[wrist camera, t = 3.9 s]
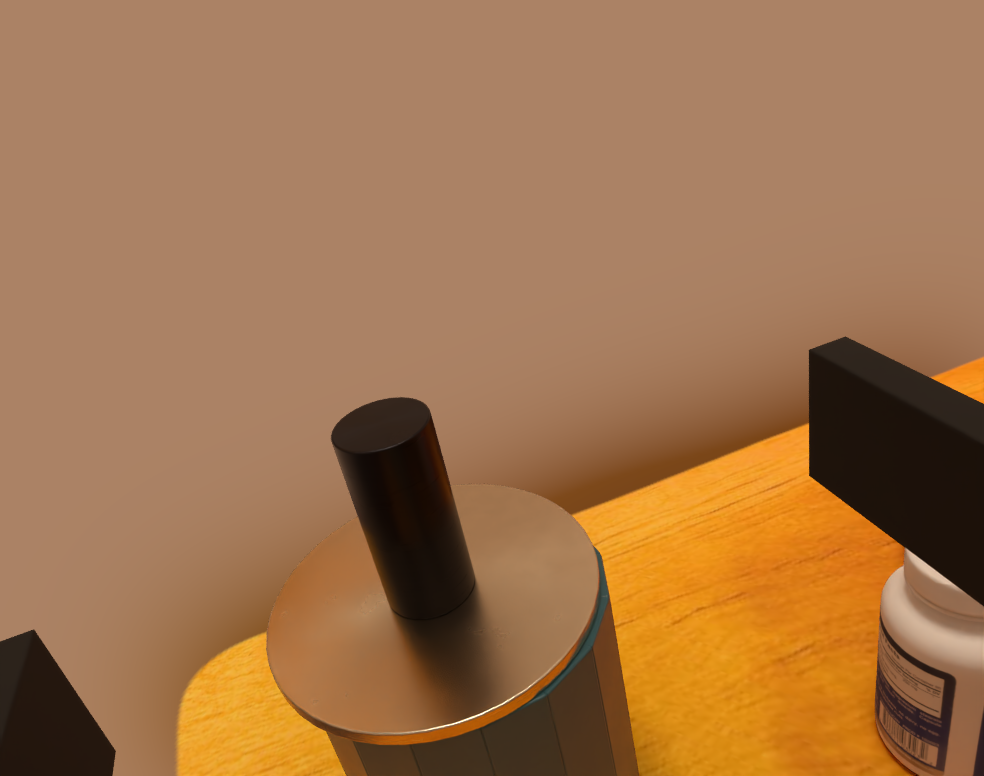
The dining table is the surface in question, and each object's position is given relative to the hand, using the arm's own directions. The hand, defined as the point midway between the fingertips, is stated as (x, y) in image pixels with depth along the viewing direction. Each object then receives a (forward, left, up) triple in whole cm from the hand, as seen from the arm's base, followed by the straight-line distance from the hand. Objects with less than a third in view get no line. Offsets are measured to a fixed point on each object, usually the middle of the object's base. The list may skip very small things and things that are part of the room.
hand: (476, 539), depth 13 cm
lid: (-7, +7, -10) cm, 14 cm away
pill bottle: (+10, +15, -22) cm, 29 cm away
